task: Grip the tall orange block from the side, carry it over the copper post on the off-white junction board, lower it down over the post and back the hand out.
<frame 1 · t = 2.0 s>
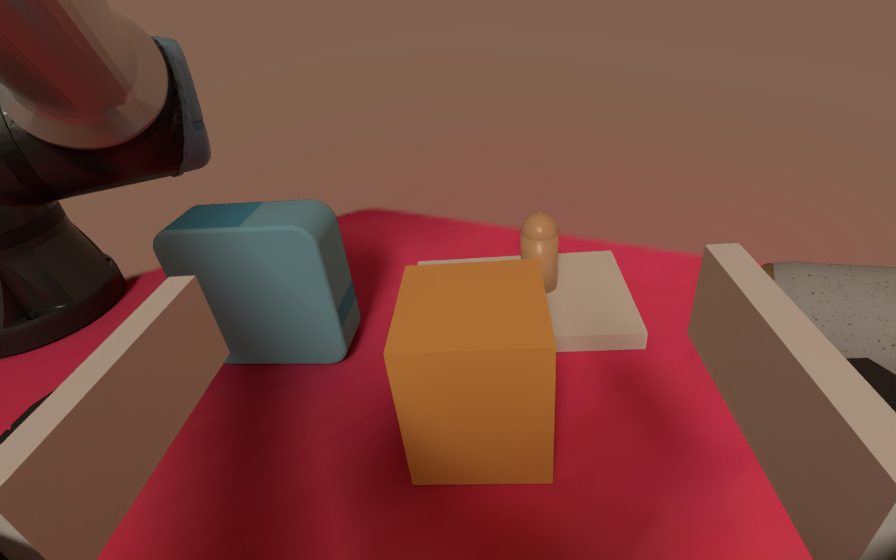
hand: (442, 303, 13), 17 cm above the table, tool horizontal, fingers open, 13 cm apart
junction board: (516, 306, 42), on the table
ceramic mug: (813, 382, 32), on the table
tall orange block: (481, 428, 31), on the table
data package: (288, 348, 41), on the table
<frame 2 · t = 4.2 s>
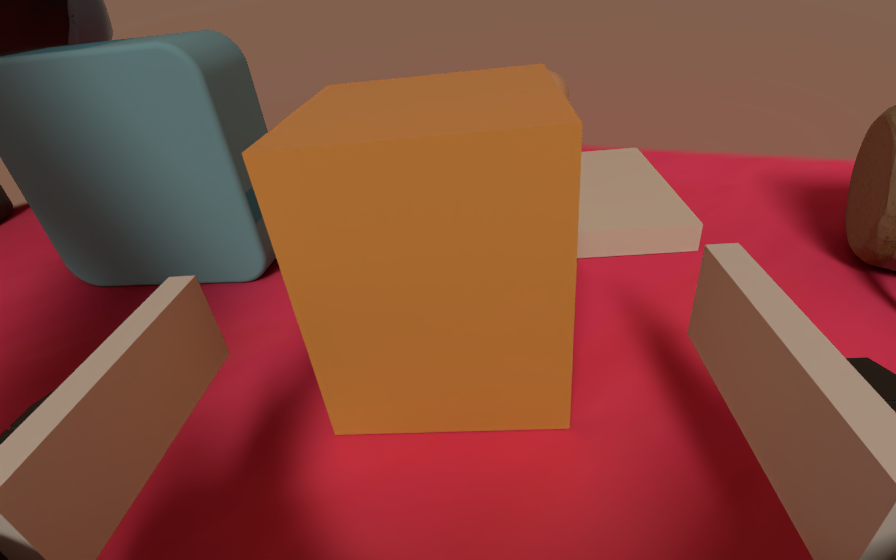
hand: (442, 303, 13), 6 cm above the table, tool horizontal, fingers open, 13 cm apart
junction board: (511, 213, 31), on the table
tall orange block: (454, 353, 20), on the table
data package: (195, 268, 29), on the table
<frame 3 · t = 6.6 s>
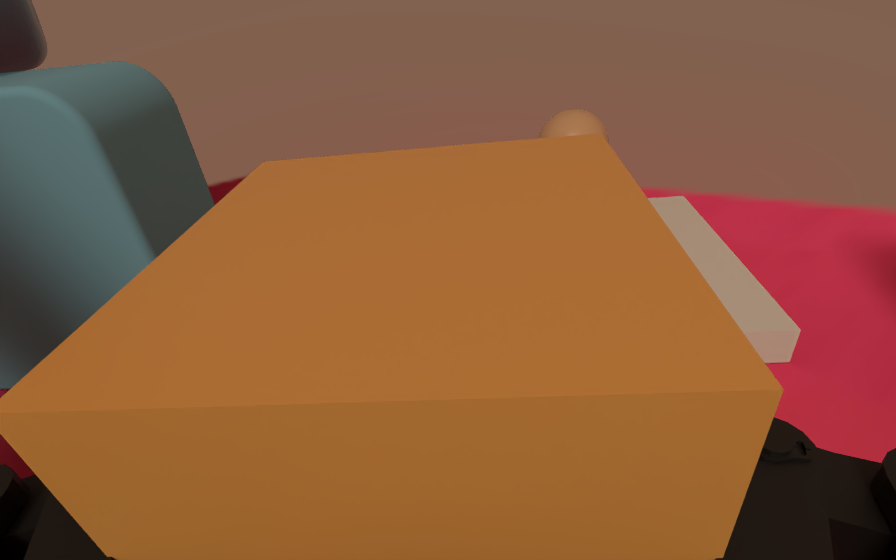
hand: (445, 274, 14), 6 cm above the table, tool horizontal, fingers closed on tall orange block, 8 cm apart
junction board: (529, 286, 24), on the table
tall orange block: (458, 551, 13), on the table, touching gripper
data package: (124, 360, 23), on the table
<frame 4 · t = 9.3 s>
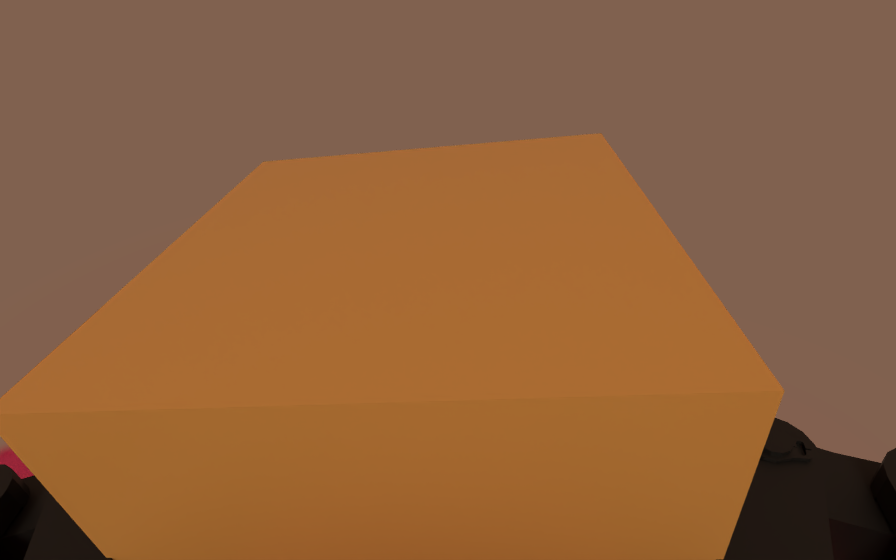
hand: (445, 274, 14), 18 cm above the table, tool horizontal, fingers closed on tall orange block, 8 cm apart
tall orange block: (458, 552, 13), point 12 cm above the table, touching gripper
when the fingers open (8 cm above the table, at t = 12.3 s): tall orange block stays where it is, resting on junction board.
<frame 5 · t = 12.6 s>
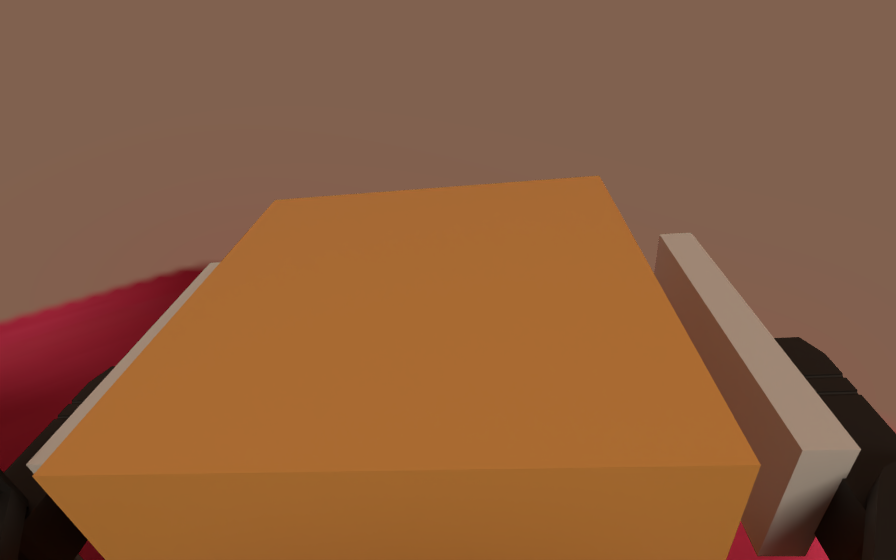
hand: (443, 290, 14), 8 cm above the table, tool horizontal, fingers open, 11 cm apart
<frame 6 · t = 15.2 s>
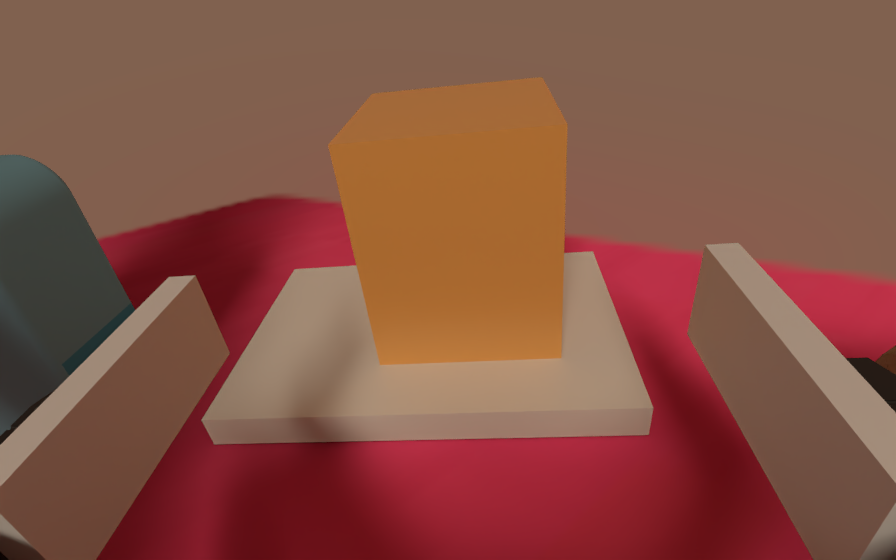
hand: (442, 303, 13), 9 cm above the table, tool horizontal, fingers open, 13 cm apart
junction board: (433, 344, 25), on the table
tall orange block: (470, 308, 25), point 1 cm above the table, touching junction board
data package: (41, 418, 24), on the table
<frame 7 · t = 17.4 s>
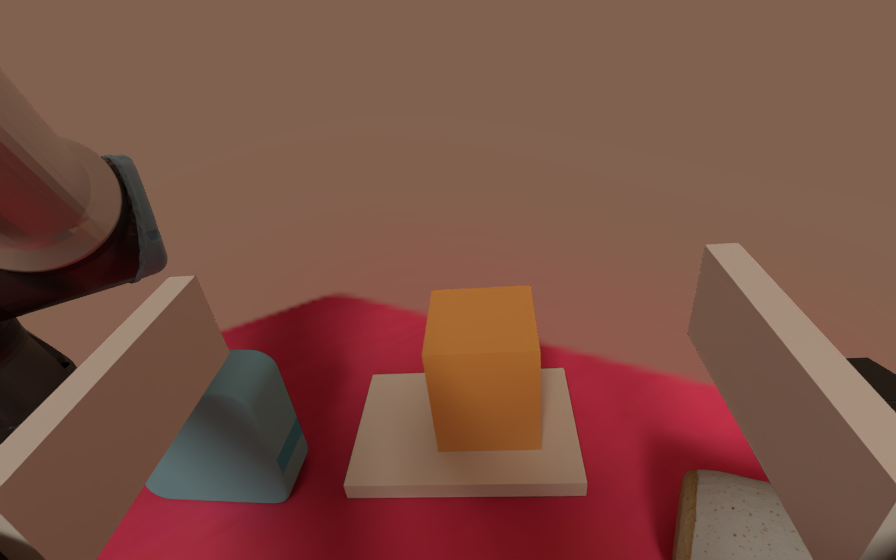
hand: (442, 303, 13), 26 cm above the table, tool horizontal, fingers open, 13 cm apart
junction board: (466, 433, 42), on the table
tall orange block: (488, 411, 42), point 1 cm above the table, touching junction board
data package: (236, 479, 41), on the table
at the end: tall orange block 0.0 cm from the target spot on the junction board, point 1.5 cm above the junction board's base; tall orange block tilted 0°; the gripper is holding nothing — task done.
